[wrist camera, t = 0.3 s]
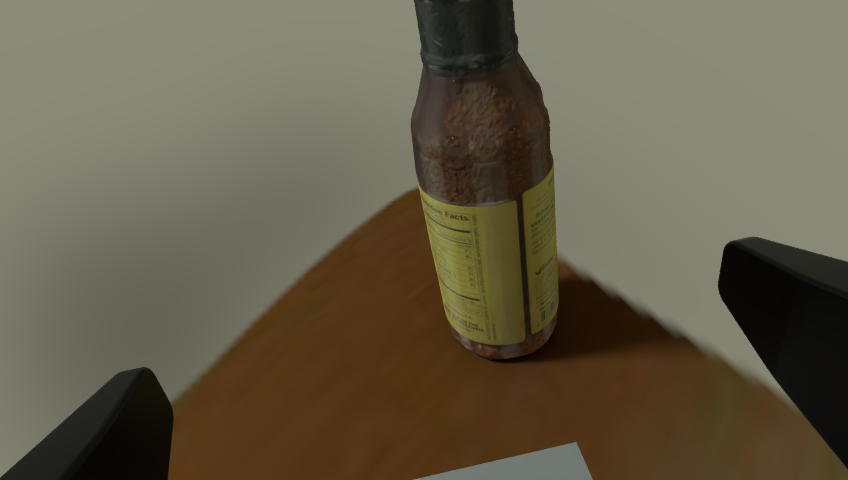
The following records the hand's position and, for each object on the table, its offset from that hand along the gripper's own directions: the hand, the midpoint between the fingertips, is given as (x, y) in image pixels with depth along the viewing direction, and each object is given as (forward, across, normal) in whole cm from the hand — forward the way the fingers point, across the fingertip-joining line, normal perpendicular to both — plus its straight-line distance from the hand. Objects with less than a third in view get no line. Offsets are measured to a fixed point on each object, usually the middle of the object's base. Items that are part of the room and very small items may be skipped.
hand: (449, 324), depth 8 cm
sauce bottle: (+17, -4, +15) cm, 23 cm away
